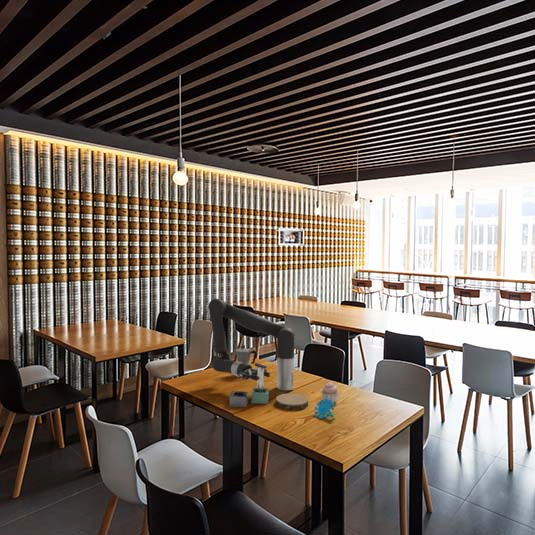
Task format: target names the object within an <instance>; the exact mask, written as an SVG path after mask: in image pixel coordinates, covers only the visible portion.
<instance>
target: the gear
mask: <svg viewBox="0 0 535 535" xmlns="http://www.w3.org/2000/svg"><path fill="white" fill-rule="evenodd" d="M327 401H328V399H326V398H325V401H324V400H323V399H320V402H317V403H316V405H317V406H315V407H314V410H315V411H314V415H316V418H317V419H319V418H320V419H322V420H324V418H325V419H327V418H329V417H331V418H333V419H334V420H335V419H336V417H335V413H334V412H333V411H334V410H335V407H334V406H335V403H333V402H332V401H331V400H330V399H329V401H328V402H327ZM331 402H332V403H331ZM329 403H330V404H329ZM330 410H332V411H330Z"/></svg>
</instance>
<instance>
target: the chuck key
mask: <svg viewBox="0 0 535 535" xmlns="http://www.w3.org/2000/svg"><path fill="white" fill-rule="evenodd" d="M254 366H255V367H257V368H256V369H257V376H258V380H257V381H256V388H257V392H260V393H263V388H264V384H265V383H264V381H265V380H264V378H265V376H264V369H266V370H267V368H268V367H267V365H265V364H261V363H258V362H254Z"/></svg>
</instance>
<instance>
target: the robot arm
mask: <svg viewBox="0 0 535 535" xmlns="http://www.w3.org/2000/svg"><path fill="white" fill-rule="evenodd" d="M207 308H208V312H209V316H210V320H211V327H212V328H211V330H212V339H213V341H212V342H213V352H214V353H215V354H219V356H220V357H216V358H214V359H213V360H212V361H211V367H212V370H214V371H216V372H219V373H226V374H227V373H228V374H231V375H234V376H236V377H237V378H238V377H239V378H241V379H244V380H247V381H248V380H254V381H256V382H257V380H258V376H257V368H253V366H252V364H250V363H249V364H246V363H242V362H238V360H232V359H231V357H230V354H229V351H228V349H227V348H228V346H227V338H226V332H225V328H224V327H225V326H224V320H223V318H227V319H229V320H231V321H234V322H235V323H236V324H237V325H239V326H241V327H243V328H245V329H247V330H250V331H252V332H256V333H260V334H265V335H269V336H271V337H274V338H276V353H277V357H276V358H277V361H276V364H277V366H276V389H277V390H279V391H294V381H295V380H294V378H295V376H294V375H295V374H294V373H295V372H294V371H295V338H296V333H295V331H294V330H293V329H292V328H291V327H288V326H285V325H281V324H278V323H276V322H273V321H271V320H269V319H268V318H265V317H263V316H261V315H260V314H259V315H258V314H256V313H254V312H251V311H248V310H246V309H241V308H238V307H236V306H234V305H231V304H230V303H228V302H226V301H225V300H224V299H220V298H213V299H212V300H210V301H209V303H208V305H207ZM270 376H271V373H270V372H268V370H267V368H266V369H264V377H267V378H270Z"/></svg>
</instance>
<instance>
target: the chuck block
mask: <svg viewBox="0 0 535 535" xmlns="http://www.w3.org/2000/svg"><path fill="white" fill-rule="evenodd" d="M248 403H249V391H237V390H232V391H231V393H230V395H229V402H228V404H229V405H228V406H229V408H244V407H246V408H247V406H248Z"/></svg>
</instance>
